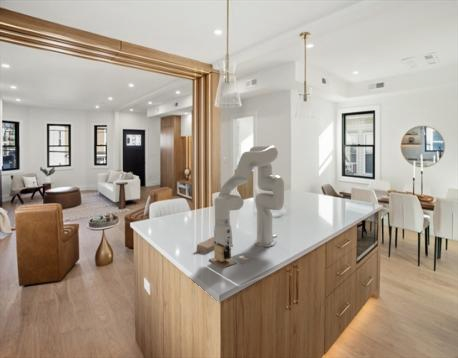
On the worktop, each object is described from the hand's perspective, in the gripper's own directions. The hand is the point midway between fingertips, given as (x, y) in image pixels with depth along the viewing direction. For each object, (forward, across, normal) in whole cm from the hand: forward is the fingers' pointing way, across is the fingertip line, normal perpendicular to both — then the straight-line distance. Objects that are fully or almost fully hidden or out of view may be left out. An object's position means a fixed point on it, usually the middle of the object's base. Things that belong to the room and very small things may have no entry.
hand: (222, 255), depth 131 cm
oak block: (+1, 0, 0) cm, 1 cm away
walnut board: (+4, 0, 0) cm, 4 cm away
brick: (+4, +21, -7) cm, 22 cm away
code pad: (+4, -3, -11) cm, 12 cm away
